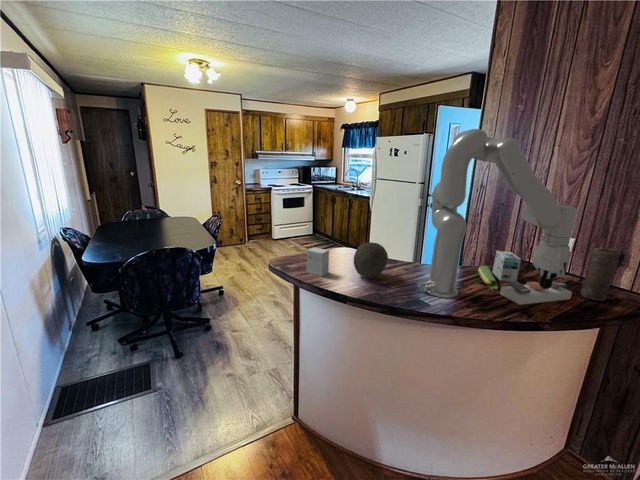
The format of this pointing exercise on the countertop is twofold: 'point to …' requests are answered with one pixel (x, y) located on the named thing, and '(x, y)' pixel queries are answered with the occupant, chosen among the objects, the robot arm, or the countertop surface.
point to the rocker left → (519, 287)
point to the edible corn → (487, 276)
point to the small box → (317, 261)
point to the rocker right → (558, 284)
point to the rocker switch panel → (535, 294)
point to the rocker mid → (535, 285)
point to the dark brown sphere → (370, 259)
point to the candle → (600, 273)
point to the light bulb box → (506, 266)
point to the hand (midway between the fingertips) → (544, 287)
